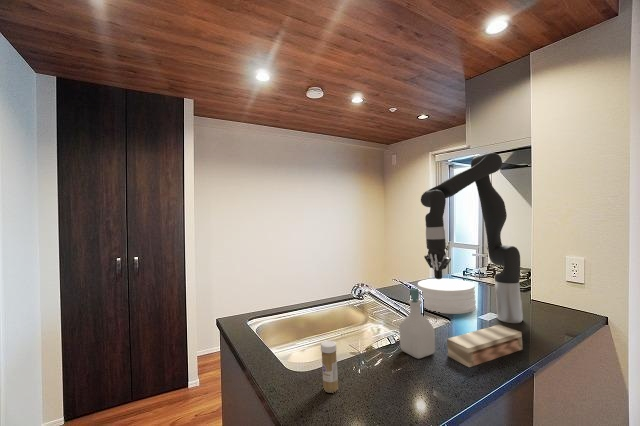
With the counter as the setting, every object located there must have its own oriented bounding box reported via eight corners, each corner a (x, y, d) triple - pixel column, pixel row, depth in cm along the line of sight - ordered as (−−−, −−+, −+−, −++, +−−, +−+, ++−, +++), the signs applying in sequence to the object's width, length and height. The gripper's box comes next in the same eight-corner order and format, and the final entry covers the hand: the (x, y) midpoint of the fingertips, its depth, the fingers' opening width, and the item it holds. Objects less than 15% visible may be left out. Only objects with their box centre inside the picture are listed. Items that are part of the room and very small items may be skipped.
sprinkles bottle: (319, 391, 84) (317, 344, 84) (329, 383, 87) (327, 338, 88) (332, 396, 81) (329, 348, 81) (341, 388, 84) (339, 342, 85)
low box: (499, 340, 110) (498, 324, 110) (522, 349, 102) (521, 332, 102) (447, 356, 100) (446, 338, 100) (469, 367, 92) (467, 348, 92)
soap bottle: (418, 361, 97) (414, 293, 98) (398, 351, 106) (394, 288, 106) (438, 354, 102) (434, 289, 102) (417, 344, 110) (413, 284, 111)
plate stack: (410, 308, 154) (409, 286, 154) (429, 295, 175) (428, 276, 175) (468, 317, 136) (466, 293, 136) (481, 302, 157) (480, 281, 157)
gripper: (455, 237, 117) (458, 280, 117) (430, 236, 130) (433, 275, 129) (441, 239, 114) (444, 283, 114) (417, 237, 127) (420, 277, 126)
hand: (438, 278), depth 122 cm, fingers closed
